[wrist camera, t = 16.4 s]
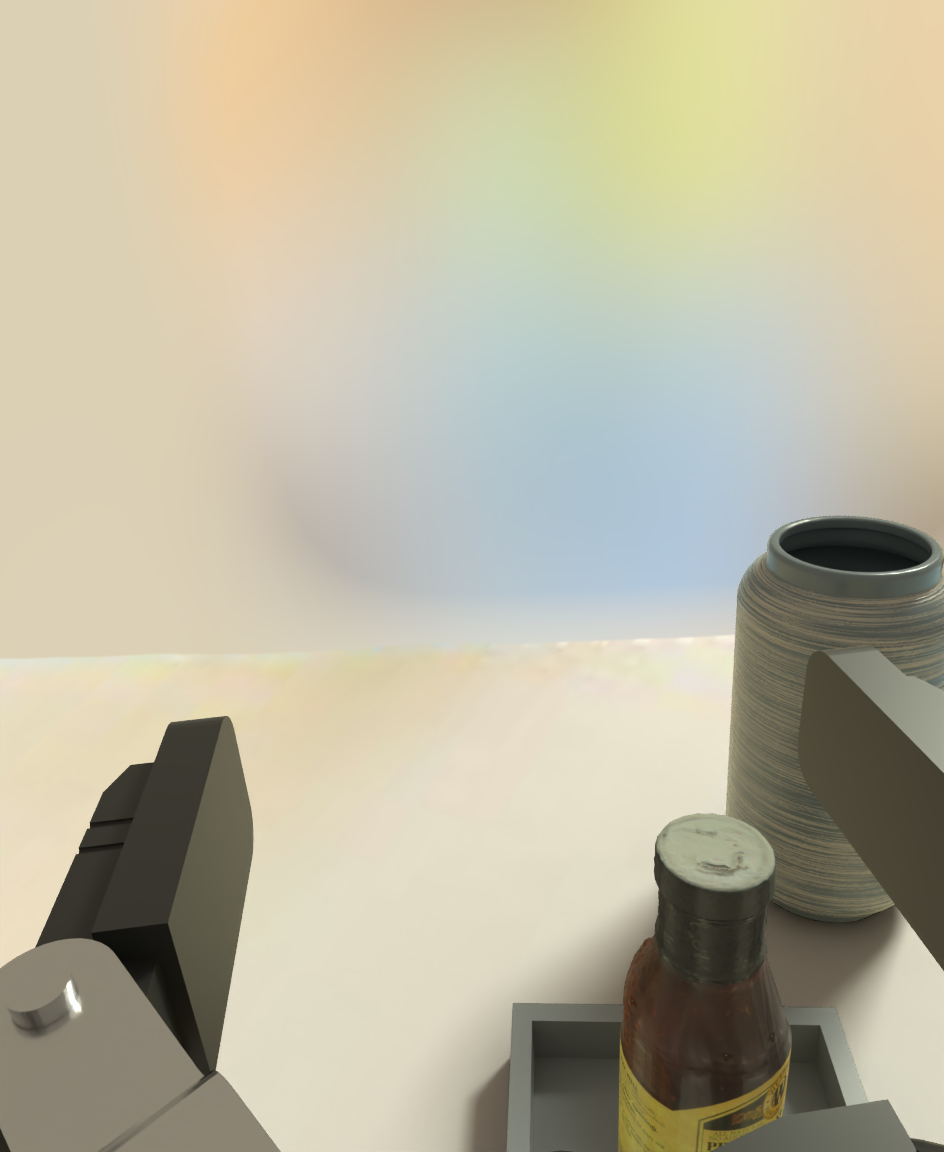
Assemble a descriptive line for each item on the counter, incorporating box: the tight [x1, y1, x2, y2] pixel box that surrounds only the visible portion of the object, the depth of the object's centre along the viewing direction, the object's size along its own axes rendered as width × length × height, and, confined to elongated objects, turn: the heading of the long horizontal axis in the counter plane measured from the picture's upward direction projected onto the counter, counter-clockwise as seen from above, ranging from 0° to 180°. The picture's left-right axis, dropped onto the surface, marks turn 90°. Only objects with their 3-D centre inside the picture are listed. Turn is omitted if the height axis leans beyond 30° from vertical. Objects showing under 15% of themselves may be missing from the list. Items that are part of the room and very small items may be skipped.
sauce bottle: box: [618, 814, 792, 1152], centre depth 33 cm, size 6×6×20 cm
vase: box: [726, 516, 944, 922], centre depth 51 cm, size 12×12×23 cm
